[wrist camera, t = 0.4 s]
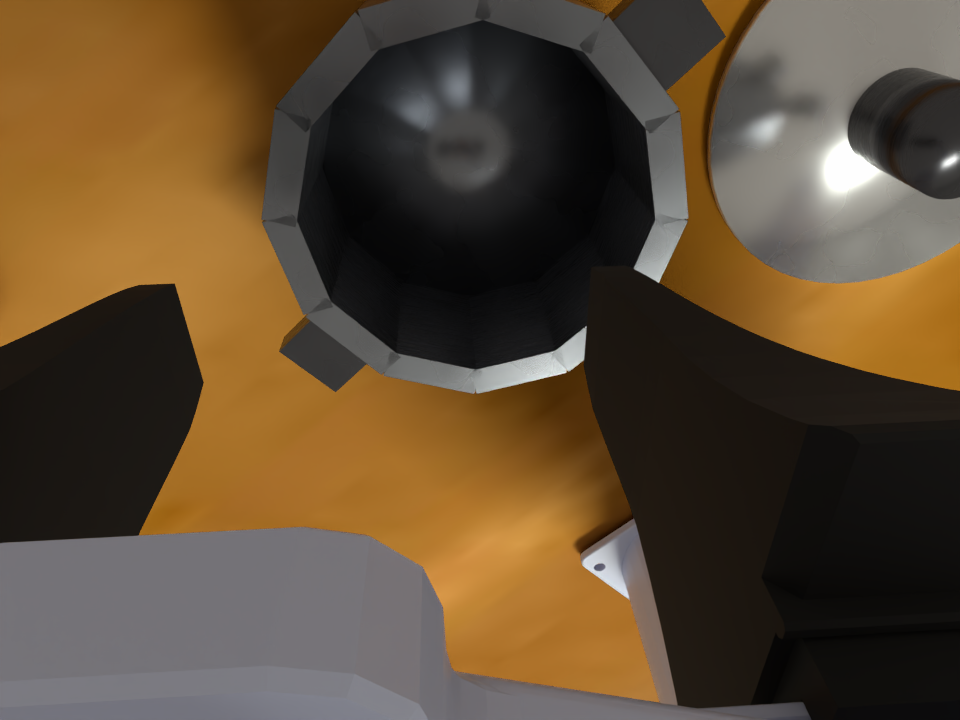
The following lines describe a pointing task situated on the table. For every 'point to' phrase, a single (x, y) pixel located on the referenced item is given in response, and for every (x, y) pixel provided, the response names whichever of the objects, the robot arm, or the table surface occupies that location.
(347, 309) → the pot
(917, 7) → the lid
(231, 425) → the table surface
